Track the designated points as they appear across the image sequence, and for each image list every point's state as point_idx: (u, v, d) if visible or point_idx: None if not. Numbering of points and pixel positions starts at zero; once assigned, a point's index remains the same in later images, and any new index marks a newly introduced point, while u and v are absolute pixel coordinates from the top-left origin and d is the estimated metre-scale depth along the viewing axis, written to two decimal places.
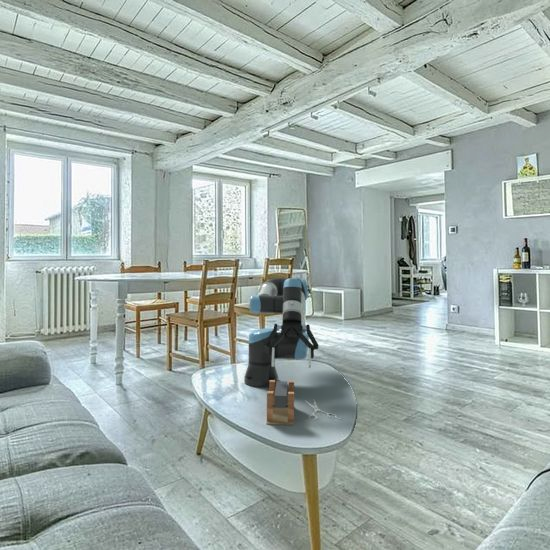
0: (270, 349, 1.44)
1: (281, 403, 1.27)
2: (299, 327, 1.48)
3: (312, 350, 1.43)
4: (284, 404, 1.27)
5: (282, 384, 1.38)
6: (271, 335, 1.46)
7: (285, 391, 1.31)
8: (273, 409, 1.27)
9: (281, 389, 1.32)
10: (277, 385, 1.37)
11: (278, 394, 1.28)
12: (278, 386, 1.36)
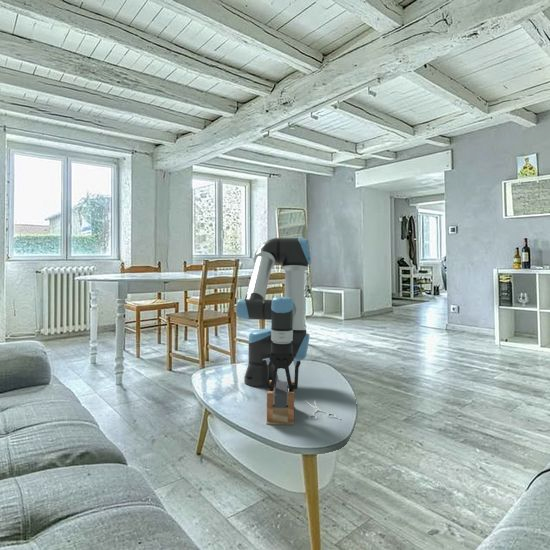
0: None
1: (281, 403, 1.27)
2: (289, 359, 1.32)
3: None
4: (284, 404, 1.27)
5: (282, 384, 1.38)
6: (266, 375, 1.33)
7: (285, 391, 1.31)
8: (273, 409, 1.27)
9: (281, 389, 1.32)
10: (277, 385, 1.37)
11: (278, 394, 1.28)
12: (278, 386, 1.36)
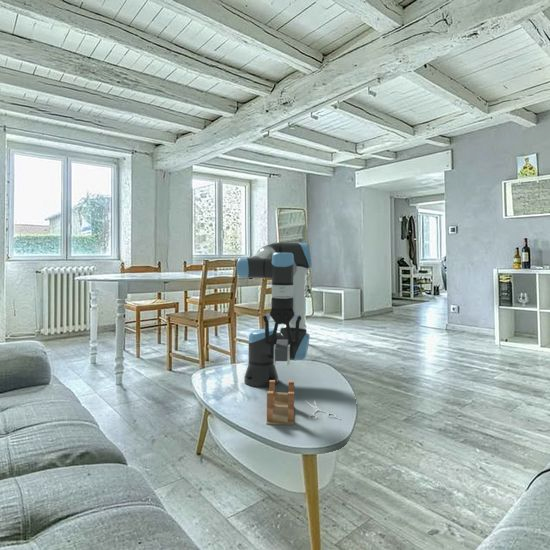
0: (271, 347, 1.33)
1: (282, 357, 1.26)
2: (290, 315, 1.32)
3: (291, 347, 1.33)
4: (285, 358, 1.26)
5: (282, 341, 1.38)
6: (266, 330, 1.32)
7: (286, 346, 1.30)
8: (273, 409, 1.27)
9: (281, 345, 1.32)
10: (278, 341, 1.37)
11: (279, 348, 1.27)
12: (279, 342, 1.35)
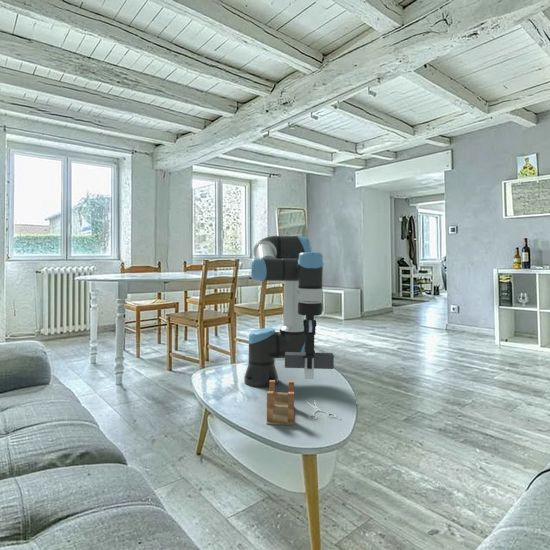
0: None
1: None
2: (306, 322, 1.17)
3: (307, 360, 1.17)
4: None
5: (322, 354, 1.20)
6: None
7: (298, 354, 1.19)
8: (273, 409, 1.27)
9: (303, 353, 1.20)
10: (319, 353, 1.21)
11: (288, 352, 1.21)
12: (314, 353, 1.21)
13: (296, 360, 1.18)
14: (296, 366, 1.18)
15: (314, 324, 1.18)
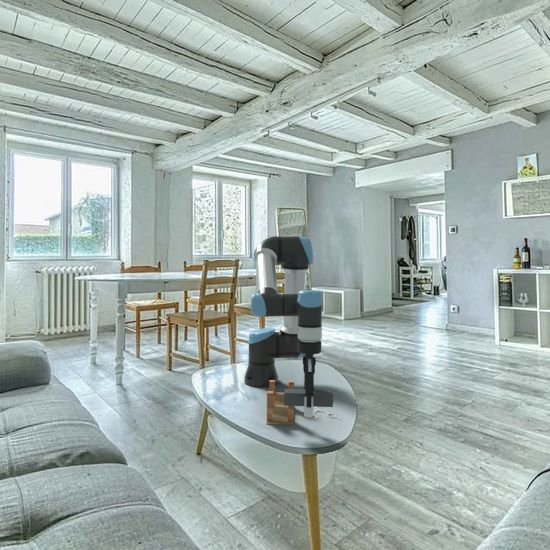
0: None
1: None
2: (305, 361, 1.17)
3: (306, 398, 1.17)
4: (284, 401, 1.20)
5: (322, 392, 1.20)
6: None
7: (297, 392, 1.19)
8: (273, 409, 1.27)
9: (302, 391, 1.20)
10: (318, 390, 1.22)
11: (288, 390, 1.22)
12: None
13: (296, 398, 1.19)
14: (296, 404, 1.19)
15: (313, 362, 1.18)
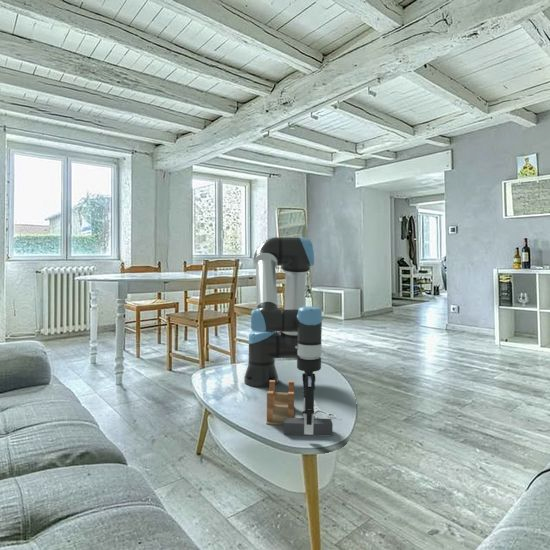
0: None
1: None
2: (305, 378, 1.18)
3: (306, 415, 1.14)
4: (284, 431, 1.20)
5: (321, 421, 1.21)
6: None
7: (297, 422, 1.20)
8: (273, 409, 1.27)
9: (302, 420, 1.21)
10: (317, 419, 1.22)
11: (287, 419, 1.22)
12: None
13: (295, 428, 1.19)
14: (295, 434, 1.19)
15: (313, 379, 1.18)
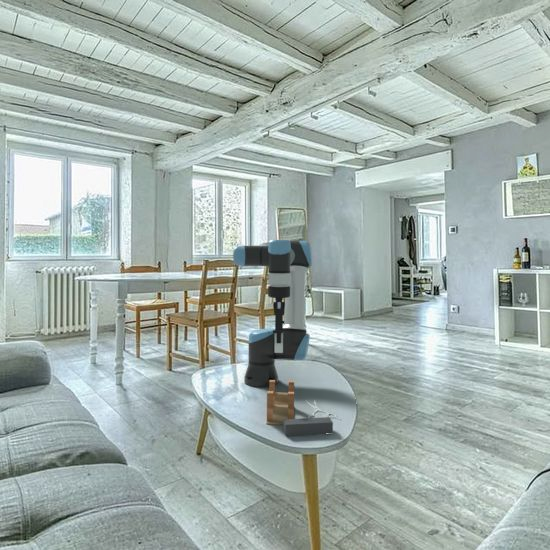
0: None
1: (284, 430, 1.20)
2: None
3: (276, 335, 1.23)
4: (285, 433, 1.19)
5: (321, 420, 1.21)
6: None
7: (298, 423, 1.19)
8: (273, 409, 1.27)
9: (302, 421, 1.21)
10: (316, 418, 1.23)
11: (287, 420, 1.21)
12: (312, 419, 1.22)
13: (296, 429, 1.19)
14: (296, 435, 1.19)
15: (283, 305, 1.28)
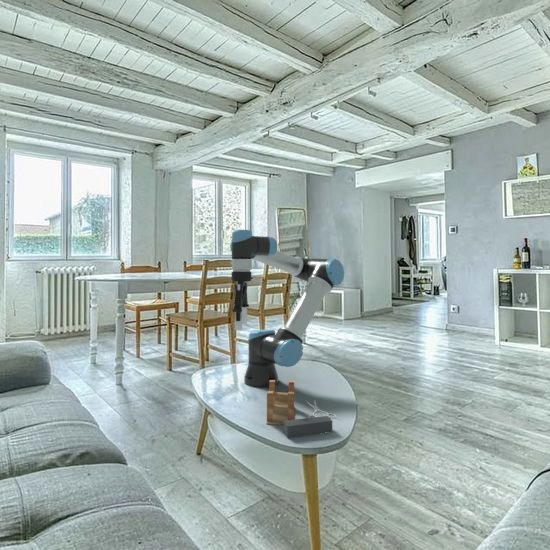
0: None
1: (285, 432, 1.19)
2: None
3: None
4: (286, 434, 1.18)
5: (320, 419, 1.22)
6: None
7: (299, 424, 1.19)
8: (273, 409, 1.27)
9: (302, 421, 1.20)
10: (315, 417, 1.23)
11: (287, 422, 1.20)
12: (312, 419, 1.22)
13: (298, 430, 1.18)
14: (298, 436, 1.18)
15: (244, 288, 1.43)
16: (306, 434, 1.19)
